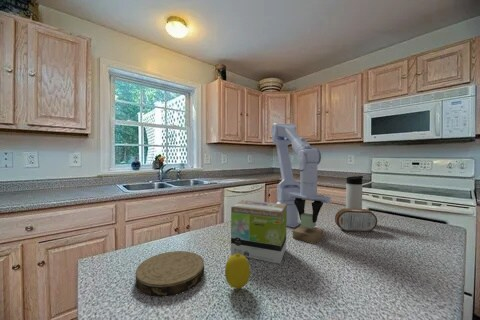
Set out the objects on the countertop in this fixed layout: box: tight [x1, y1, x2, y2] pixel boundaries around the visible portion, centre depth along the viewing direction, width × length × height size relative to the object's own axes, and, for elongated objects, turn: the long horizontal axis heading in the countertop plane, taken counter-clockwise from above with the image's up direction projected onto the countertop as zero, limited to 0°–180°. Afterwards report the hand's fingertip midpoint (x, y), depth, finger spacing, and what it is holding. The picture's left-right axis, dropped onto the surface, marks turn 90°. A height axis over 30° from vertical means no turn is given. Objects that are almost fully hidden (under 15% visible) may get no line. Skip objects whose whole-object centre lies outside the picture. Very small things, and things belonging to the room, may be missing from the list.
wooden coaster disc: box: [135, 250, 205, 298], centre depth 55 cm, size 16×16×3 cm
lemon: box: [224, 253, 251, 290], centre depth 49 cm, size 6×6×8 cm
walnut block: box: [292, 225, 324, 245], centre depth 80 cm, size 8×8×3 cm
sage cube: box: [300, 212, 317, 228], centre depth 79 cm, size 4×4×4 cm
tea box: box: [230, 199, 287, 265], centre depth 67 cm, size 15×10×15 cm
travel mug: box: [345, 175, 364, 209], centre depth 97 cm, size 6×7×20 cm
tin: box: [334, 208, 378, 233], centre depth 86 cm, size 15×3×8 cm, turn 84°
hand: (308, 220), depth 79 cm, fingers closed on sage cube, 4 cm apart
